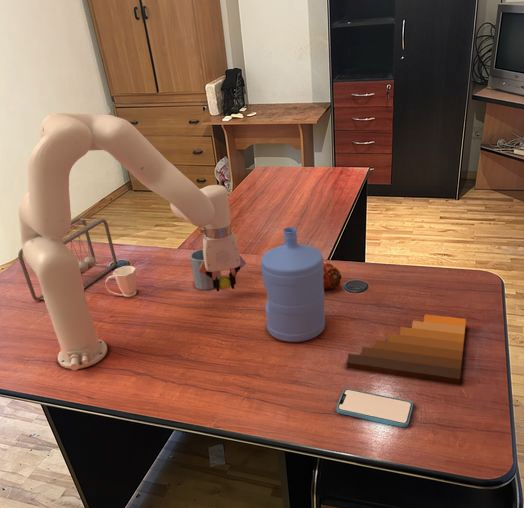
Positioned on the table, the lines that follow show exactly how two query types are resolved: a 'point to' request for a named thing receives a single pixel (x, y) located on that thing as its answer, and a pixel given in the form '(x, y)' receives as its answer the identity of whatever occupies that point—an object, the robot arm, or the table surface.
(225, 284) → the plum
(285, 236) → the water jug
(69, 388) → the table surface
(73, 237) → the newton's cradle
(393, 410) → the smartphone
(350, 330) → the table surface
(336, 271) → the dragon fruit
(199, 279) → the tumbler
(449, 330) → the pan flute
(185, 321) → the table surface
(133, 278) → the cup
